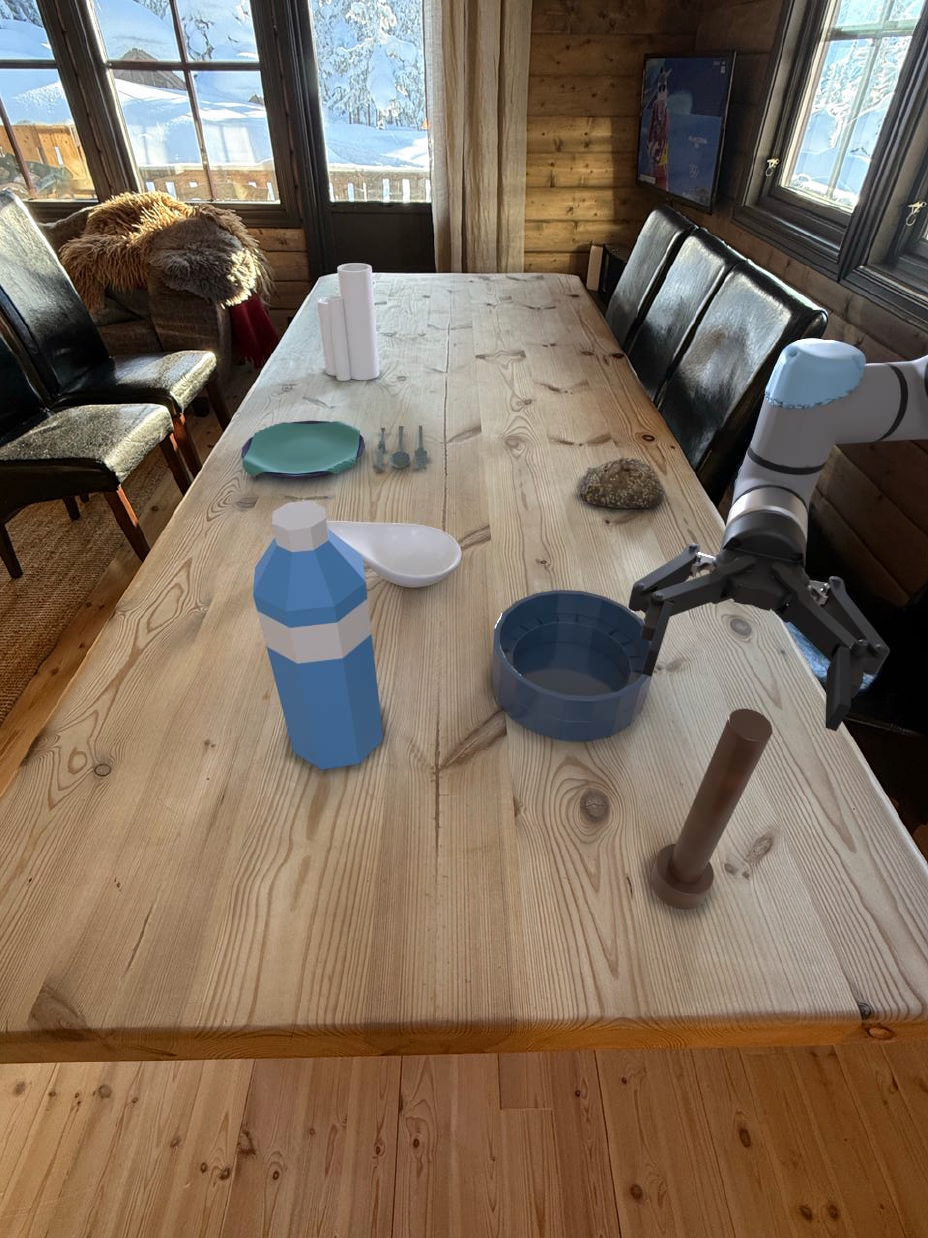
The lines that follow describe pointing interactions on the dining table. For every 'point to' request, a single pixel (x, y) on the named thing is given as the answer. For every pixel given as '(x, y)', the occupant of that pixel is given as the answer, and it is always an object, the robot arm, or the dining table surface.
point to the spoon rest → (402, 550)
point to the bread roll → (622, 485)
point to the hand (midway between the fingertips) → (740, 690)
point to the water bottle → (319, 638)
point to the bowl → (570, 665)
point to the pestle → (711, 812)
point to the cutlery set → (315, 449)
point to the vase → (350, 325)
